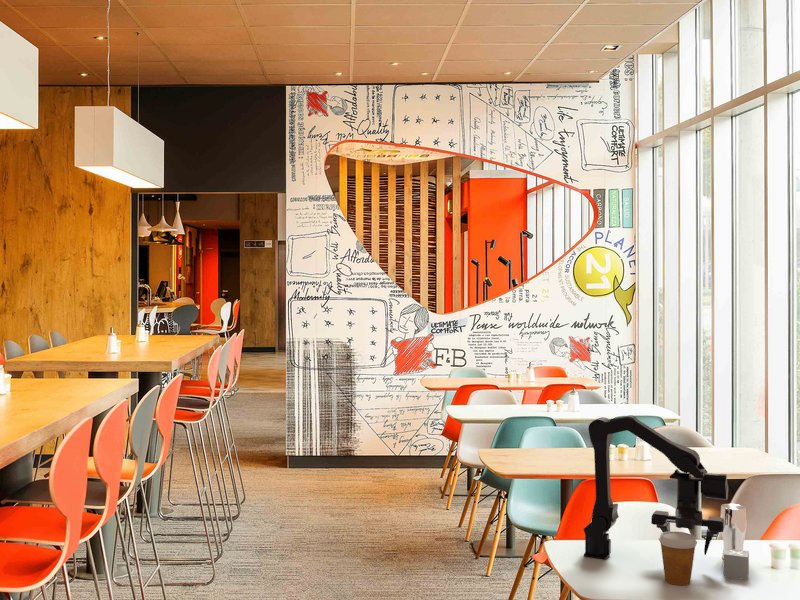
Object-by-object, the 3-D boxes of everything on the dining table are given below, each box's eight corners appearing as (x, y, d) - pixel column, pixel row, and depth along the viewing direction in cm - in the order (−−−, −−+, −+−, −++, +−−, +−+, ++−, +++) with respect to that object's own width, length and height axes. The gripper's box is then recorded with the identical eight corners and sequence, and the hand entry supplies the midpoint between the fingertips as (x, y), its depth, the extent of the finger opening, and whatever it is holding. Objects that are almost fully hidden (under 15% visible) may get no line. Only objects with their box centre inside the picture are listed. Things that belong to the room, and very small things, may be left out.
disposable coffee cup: (696, 578, 220) (696, 532, 220) (697, 589, 211) (697, 542, 211) (659, 574, 223) (659, 529, 223) (658, 585, 214) (658, 538, 214)
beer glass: (748, 563, 233) (748, 510, 233) (722, 561, 234) (722, 508, 234) (743, 556, 240) (743, 504, 240) (718, 554, 241) (718, 503, 241)
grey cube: (723, 576, 221) (723, 554, 221) (725, 570, 227) (725, 548, 227) (747, 579, 219) (747, 557, 219) (748, 573, 224) (748, 551, 224)
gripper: (648, 498, 225) (648, 555, 225) (721, 505, 217) (721, 565, 217) (654, 490, 235) (654, 545, 235) (724, 497, 227) (724, 553, 227)
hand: (687, 552), depth 228 cm, fingers open, 9 cm apart
